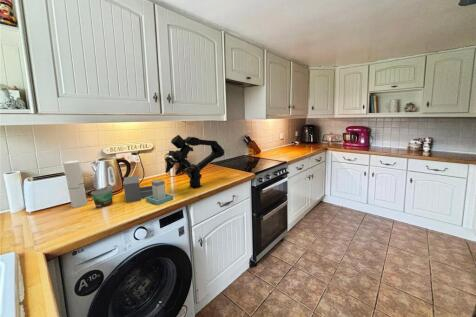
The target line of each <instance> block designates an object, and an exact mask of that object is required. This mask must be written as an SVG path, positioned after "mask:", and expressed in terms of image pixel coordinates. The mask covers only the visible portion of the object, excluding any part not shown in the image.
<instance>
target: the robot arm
mask: <svg viewBox="0 0 476 317" xmlns="http://www.w3.org/2000/svg"><path fill="white" fill-rule="evenodd" d="M170 143H171V145H173V146H174V147H175V148H176V149H177V150H168V154H167V156H166V157H165V158H164V161H165V163H166V168H165V173H166V174H168V173H169V172H170V171H171V170H172V169H173V168H174V166H175V165H176V164H178V167H177V169H176V171H175V173H174V175H175V176H177V175H179V174H180V173H182V172H183V171H185V174H186V176H188V178H189V181H188V182H189V186H188V187H189V188H192V189H197V188H200V187H203V186H202V184H201V179H202V176H203V175H202V174H201V171H202V170H203V169H204V168H206V167H207V166H208V165H210V164H211V163H212V162H213V161H214V160H216V159H220V158H221V157H223V156H225V149H223V147H222V146H221V145H220V144H219V143H218V141H216V140H210V139H209V140H208V139H202V138H198V137H195V136H186V138H183V137H181V135H180V134H177V135H176V136H174V137H173V138H172V139H171V141H170ZM202 145H203V146H210V149H211V152H210V154H209V155H207V156H206V157H204V158H203V159H202V160H201V161H199V162H198V163H197V164H193V163H192V164H191V162H190V161H189V160H188V158H189V157H188V155H189V153H190V152H194V149H193V148H194V146H195V147H196V146H202ZM178 149H179V150H178Z"/></svg>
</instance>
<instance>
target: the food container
mask: <svg viewBox="0 0 476 317" xmlns="http://www.w3.org/2000/svg"><path fill="white" fill-rule="evenodd" d="M113 190H114V187H113V186H112V184H107V185H106V186H105V187H104V186H103V187H100V188H99V189H97V190H91V193H90V194H91V196H92V199H93V202H94V205H95V208H96V209H99V208H101V209H102V208H105V207H110V206H111V205H112V204H113Z"/></svg>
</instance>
